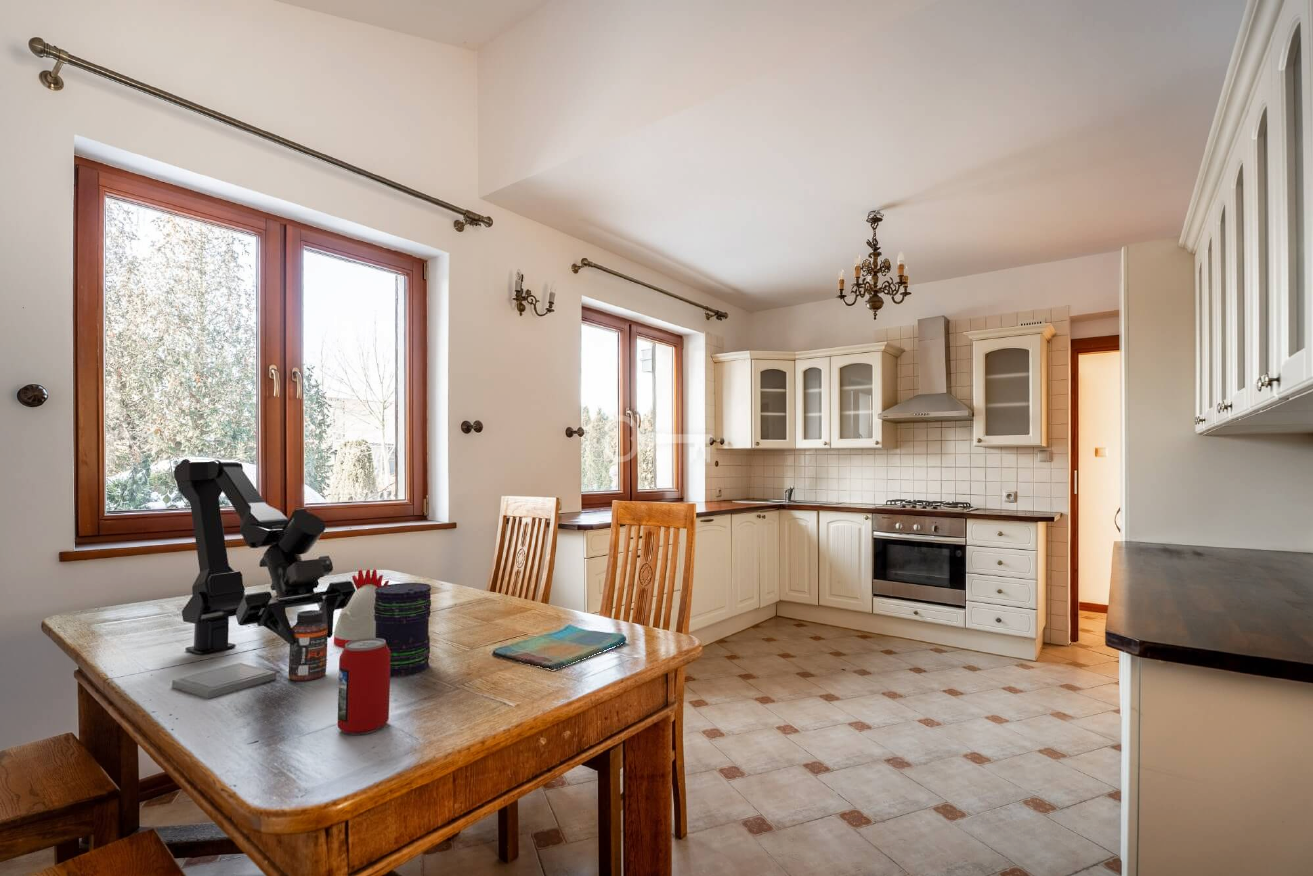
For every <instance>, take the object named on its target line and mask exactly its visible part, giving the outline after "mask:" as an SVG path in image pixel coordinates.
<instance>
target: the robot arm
mask: <svg viewBox="0 0 1313 876" xmlns="http://www.w3.org/2000/svg"><path fill="white" fill-rule="evenodd" d="M243 467H244V466H243V464H242V462H240V461H239V460H236V459H216V458H215V459H211V458H208V459H206V458H201V459H200V458H195V459H194V458H185V459H182V460H181V461H180V463H179V464H177V465H176V466H175V468H174V470H173V477H174V480H175V482H176V485H177V489H178V492H179V493H180V495H182V496H183V498H184V499H186V501H188V502H189V504H190V511H191V512H190V513H191V518H192V525H193V532H194V539H195V540H194V541H195V547H196V553H197V559H198V567H199V573H198V574H197V576H196V578H195V581H194V582H193V584H192V589H191V591H192V593H191V595H192V596H191V597H190V599H189V600H188V602H187V603H186V604H185V606H184V607H183V608H182V610H181V616H182V617H181V618H182V621H183V622H184V623H191V624H194V632H193V633H194V635H193V645H192V646H188V647H185V651H186V652H191V653H195V654H198V655H206V654H211V653H215V652H219V651H224V650H228V649H232V648H236V646H237V645H236V644H235V643H231V642H229V630H230V629H229V628H230V627H229V622H230V620H229V619H230V617H234V616H235V617H236V620H237V624H238V625H239V626H241V627H242V626H249V625H254V624H256V625H257V627H265V628H266V629H268V630H269V631H271V632H272V633H274V634H275V635H277V636H278V637H280V638H281V639H282V640H284V641H285V642H286V643H287V644H288V645H289V646H290V645H294V644H295V642H296V641H295V637H294V633H293V631H292V625H291V623H290V621H289V619H288V616H287V611H286V609H287V610H288V609H292V608H298V607H299V608H300V607H305V606H312V605H317V607H318V610H320V611H322V612H323V613H322V617H323V618H322V620H323V621H324V623H326V624H327V626H328V639H330V638H332V636H333V635H334V634H333V631H334V630H333V629H334V613H335V611H336V610H342V609H343V608H344V607H346V606H347V604H348V603H349V601H350V599H351V598H352V596H353V594H354V593H355V591H356V590H357V589H356V586H355V584H354V582H352V581H351V580H343V581H333V582H329V585H328V586H327V588H326V590H325V591H317V592H315V590H314V589H317V588H318V587H319V585H320V582H319V580H320V579H321V578H324V577H325V576H326V575H327V576H328V575H329V574H330V573H332V572H333V570H334V566H333V561H332V559H331V557H330V556H329V555H323V556H321V555H320V556H319V557H318V558H315V559H314V558H313V559H304V560H303V559H302V556H301V555H305V554H307V553H308V552H310V550H311V549H312V547H313V546H314V544H316V542H317V541H318V540H319V539H320V537H321V536H322V534H323V533H324V532H325V530H326V524H325V521H324V520H323V519H321V518H320V517H318V516H317V515H315V514H313V513H310V512H308V511H307V509H306V508H295V509H294V510H293V512H292V513H291V515H290V517H289V518H287V516H286V515H284V513H282V511H280V510H278V508H277V509H276V508H275V507H272V506H270V505H268V503H266V501H265V500H264V498H263V497H262V495H260V493H259V491H258V490H257V488H256V487H255V485H254V484H253V482H251V480H250V478H249V477H248V476H247V474H246V472H245V471H244V468H243ZM222 493H223V494H224V495H225V497H226V498H227V500H228V501H229V503H230V504H231V506H232V507H233V509H234V511H236V513H237V515H238V517H239V518H240V520H241V522H240V526H239V531H240V533H241V536H242V538H243V541H244V542H245V543H246V545H247V547H249V548H250V549H259V548H267V549H266V550H265V551H264V553H263V556H262V558H261V559H260V560H259V564H258V565H259V567H260V568H267V570H268V573H269V575H270V579H271V582H272V583H270V590H271V591H272V592H273V591H275V593H276V595H272V593H271V591H261V592H253V593H246V592H245V590H246V588H245V586H244V583H243V582H244V581H243V574H242V572H241V571H240V570H238V571H235V570H234V569H233V568H232V567H231V566H230V563H229V558H228V550H227V545H226V538H225V532H224V523H223V517H222V510H221V503H220V496H221V494H222Z"/></svg>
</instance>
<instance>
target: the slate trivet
mask: <svg viewBox="0 0 1313 876" xmlns="http://www.w3.org/2000/svg"><path fill="white" fill-rule="evenodd" d="M276 679H277V671H274V670H270V669H266V668H262V667H258V666H254V665H251V664H245V663H243V662H238V663H235V664H229V665H226V666H223V667H218V668H214V669H211V670H206V671H202V672H199V673H194V674H191V675H187V676H182V677H179V678H175V679H171V680H172V681H171V688H173V689H176V690H179V691H182V692H185V693H189V694H193V695H195V696H198V697H201V698H205V699H208V700H209V699H212V698H216V697H219V696H222V695H225V694H228V693H234V692H236V691H239V690H244V689H246V688H250V687H253V686H257V685H260V684H264V683H267V682H270V681H275V680H276Z"/></svg>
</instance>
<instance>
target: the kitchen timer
mask: <svg viewBox="0 0 1313 876" xmlns="http://www.w3.org/2000/svg"><path fill="white" fill-rule="evenodd" d="M383 577H384V575H383V574H381V575H379V576H378V573H377V569H373V570H372V572H371V569H366V570H365V574H364V573H363V570H362V569H359V570H358V571H357V576H356V575H352V576H351V578H352V581H353V582H352V583H353V584H354V587H355V589H356V591H355V593H354V594H353V596H352V598H351V599H350V601H349V603H348V604H347V606H346V607H344V608H343V609H340V613H339V616H338V618H337V621H336V625H335V626H334V627H335V628H334V634H333V644H334V645H335V646H337V647H339V648H345V644H346V643H348V642H350V641H353V640H358V639H364V638H375V632H376V621H375V620H374V614H375V610H374V603H375V597H376V594H375V589H376V588H377V587H380V586H384V585H389V583H390V580H386V581H384V583H383V584H382V580H383Z"/></svg>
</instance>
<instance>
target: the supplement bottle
mask: <svg viewBox="0 0 1313 876" xmlns="http://www.w3.org/2000/svg"><path fill="white" fill-rule="evenodd" d="M322 613H323V612H322V611H320V610H319V609H317V610H316V609H315V610H314V609H312V610H311V609H310V610H309V609H308V610H304V611H299V612H298V613H297V615H296V616H297V617H296V623H295V625H292V626H291V628H292V631H293V633H294V637H295V641H296V642H295V644H294V645H290V644H289V651H288V653H289V654H288V655H289V657H288V678H289V679H290V680H292V681H299V682H302V681H303V682H306V681H311V680H316V679H318V678H319V679H320V678H321V677H323V676H325V674H326V673H327V662H328V639H329V638H328V626H327V624H326V623H324V621H323V620H322V618H323V617H322Z"/></svg>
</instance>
